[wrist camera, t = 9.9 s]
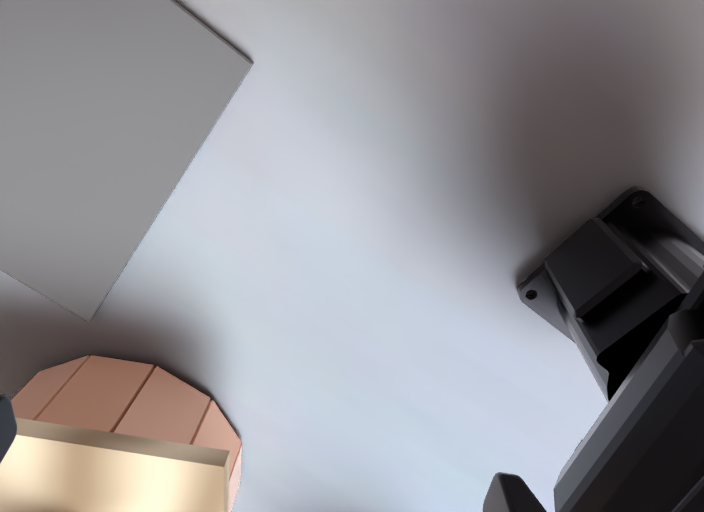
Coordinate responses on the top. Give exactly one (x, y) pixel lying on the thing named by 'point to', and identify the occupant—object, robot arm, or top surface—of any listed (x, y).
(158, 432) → the bowl
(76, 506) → the lid
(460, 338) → the top surface
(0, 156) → the mat
